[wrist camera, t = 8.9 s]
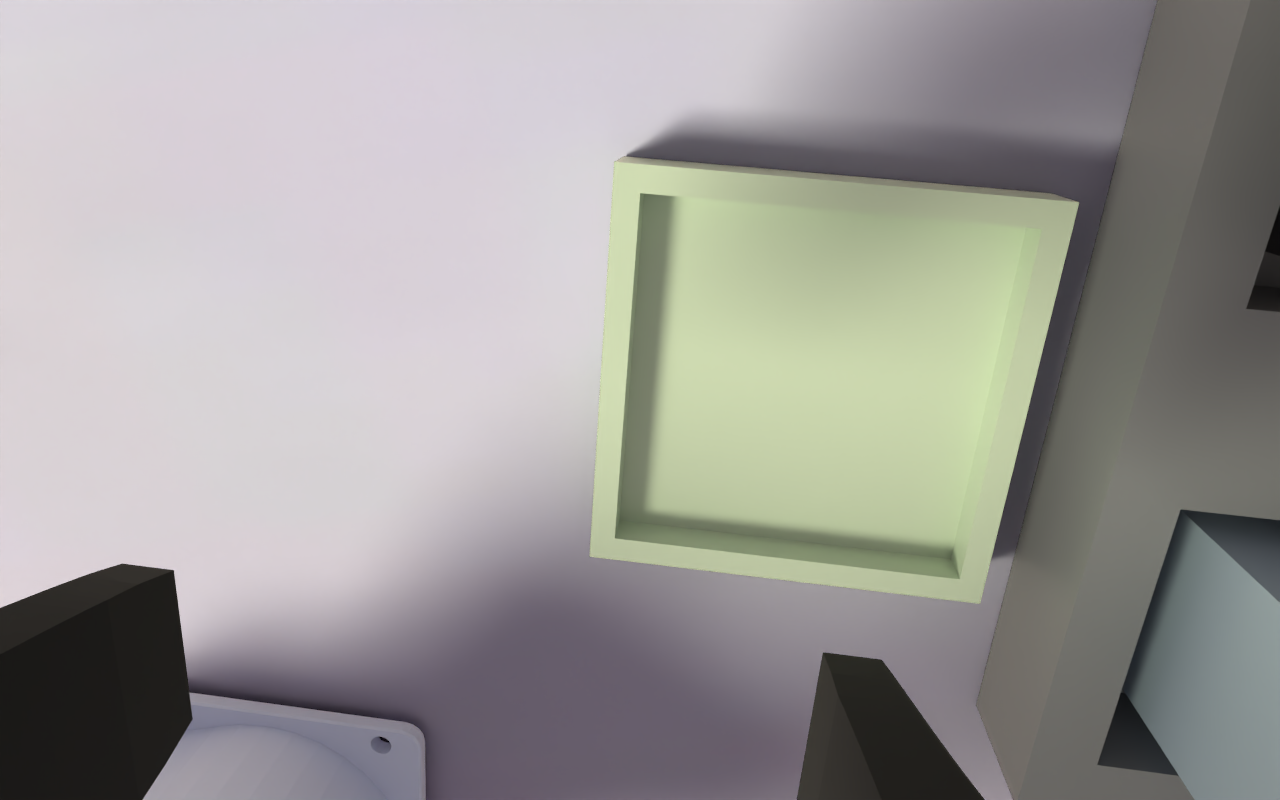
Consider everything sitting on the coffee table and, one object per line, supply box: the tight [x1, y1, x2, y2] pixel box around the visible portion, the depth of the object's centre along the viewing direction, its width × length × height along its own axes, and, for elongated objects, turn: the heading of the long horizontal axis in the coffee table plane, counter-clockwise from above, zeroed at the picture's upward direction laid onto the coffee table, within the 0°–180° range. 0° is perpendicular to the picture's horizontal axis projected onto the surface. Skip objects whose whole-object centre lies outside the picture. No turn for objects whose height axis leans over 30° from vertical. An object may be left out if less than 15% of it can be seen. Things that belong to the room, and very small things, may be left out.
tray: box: [589, 156, 1079, 604], centre depth 17 cm, size 8×8×1 cm
